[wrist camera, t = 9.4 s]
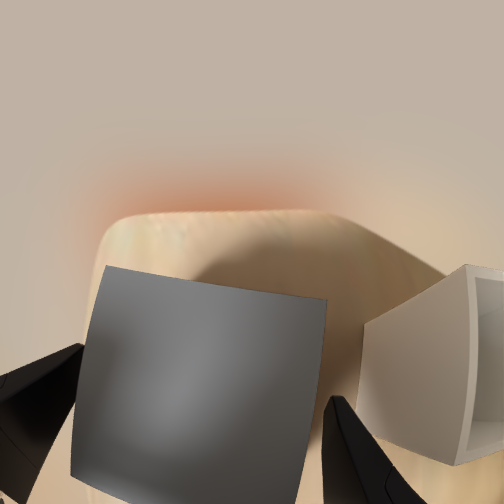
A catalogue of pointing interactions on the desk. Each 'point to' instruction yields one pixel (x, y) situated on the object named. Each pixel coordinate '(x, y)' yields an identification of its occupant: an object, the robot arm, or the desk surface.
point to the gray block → (196, 391)
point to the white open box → (439, 369)
